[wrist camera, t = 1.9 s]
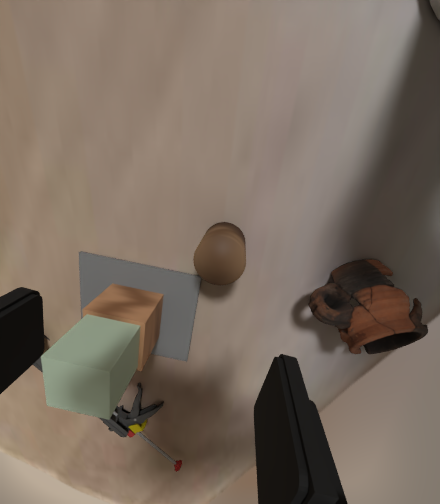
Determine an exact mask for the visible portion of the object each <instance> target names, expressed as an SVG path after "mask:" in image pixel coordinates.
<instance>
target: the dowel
mask: <svg viewBox="0 0 440 504" xmlns="http://www.w3.org/2000/svg"><path fill="white" fill-rule="evenodd" d="M194 266H195V269H196V271H197V273H198V274H199V275H200V277H201V278H203V279H204V280H205V281H207V282H209V283H211V284H215V285H226V284H230V283H232V282H234V281H236V280H237V279H238V278H239V277H240V276H241V275H242V274H243V272H244V269H245V266H246V249H245V237H244V235H243V233H242V231H241V230H240V229H239V228H238V227H237V226H235V225H234V224H231V223H227V222H221V223H217V224H215V225H213V226H211V227H210V228H209V229H208V230H207V232H206V233H205V235H204V237H203V239H202V240H201V242H200V244H199V245H198V247H197V249H196V251H195V253H194Z"/></svg>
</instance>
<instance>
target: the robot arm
mask: <svg viewBox="0 0 440 504" xmlns="http://www.w3.org/2000/svg"><path fill="white" fill-rule="evenodd" d="M430 4H431V6H432V8H433V10H434V12H435V14H436V16H437V18H438V19H439V21H440V0H430ZM43 352H44V325H43V301H42V297H41V296H40V293H39V292H38V291H35V290H31V289H27V288H24V287H20V288H17V289H15V290H13V291H11V292H9V293H7V294H5V295H3V296H1V297H0V394H1V393H2V392H3V391H4V390H5V389H6V388H8V387H9V386H10V385H11V384H12V383H13V382H14V381H15V380H16V379H17V378H18V377H20V376H21V375H22V374H23V373H24V372H25V371H26V370H27V369H28V368H29V367H30V366H31V365H33V364H34V363H35V362H36V361H37V360H38V359H39V358H40V357H41V356H42V354H43ZM254 428H255V447H256V466H257V486H258V504H347V501H346V498H345V495H344V491H343V488H342V485H341V482H340V479H339V476H338V473H337V469H336V466H335V463H334V460H333V457H332V454H331V451H330V448H329V445H328V441H327V438H326V435H325V432H324V429H323V426H322V423H321V420H320V416H319V413H318V410H317V408H316V405H315V404H314V402H313V401H311V400H309V398H308V394H307V391H306V388H305V384H304V381H303V378H302V374H301V371H300V367H299V364H298V361H297V359H296V358H295V357H291V356H287V355H283V354H281V355H280V356H279V357H275V358H274V359H273V362H272V364H271V367H270V369H269V371H268V374H267V376H266V379H265V381H264V383H263V386H262V388H261V391H260V393H259V395H258V398H257V400H256V403H255V406H254Z"/></svg>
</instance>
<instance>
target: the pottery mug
mask: <svg viewBox="0 0 440 504" xmlns="http://www.w3.org/2000/svg"><path fill="white" fill-rule="evenodd" d="M331 274H332V276H333V280H334V283H328V284H326V285H325V286H323V287H320V288H318V289H316V290H315V291H314V292H313V293H312V295H311V297H310V303H309V307H310V309H311V311H312V313H313V315H314V316H315V317H316V318H317V319H318V320H319V321H321V322H323V323H326V324H330V325H335V326H336V327H337V328H338V330H339V332H340V336H341V339H342V340H343V342H346V343H347V344H348V346H349V350H350V352H351V353H354V354H361V349H360V347H361V346H362V345H363V346H364V348H365V350H366V352H367V353H368V354H375V353H381V352H386V351H390V350H394V349H397V348H400V347H403V346H406V345H408V344H411V343H413V342H415V341H417V340H419V339H421V338H423V337H424V336H425V335H426V334H427V333H428V328H427V325H422V323H421V319H422V308H421V303H420V301H419V300H418V299H416V298H415V299H414V300H413V303H414V306H413V309H412V311H411V312H410V309H409V307H410V303H409V297H408V296H407V295H406V294H405V292H404V291H403V290H401V289H398V288H394V284H393V283H392V282H391V281H390V280H388V279H387V278H386V276H384V275H387V276H392V275H393V272H392V271H391V270H390V269H389V268H387V267H386V266H385V265H383V264H382V263H381V262H380V261H377V260H372V259H369V260H368V259H367V260H359V261H353V262H350V263H346V264H344V265H342V266H340V267H339V268H337V269H335V270H334V271H332V272H331ZM351 298H354V299H355V300H356V301H357V302H359V305H356V306H354V307H352V306H351V305H350V304H349V302H350V299H351ZM409 312H410V313H409Z"/></svg>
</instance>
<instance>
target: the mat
mask: <svg viewBox="0 0 440 504" xmlns="http://www.w3.org/2000/svg"><path fill="white" fill-rule="evenodd" d="M79 270H80V295H81V319H82V318H83V312H82V309H83V308H85V307H86V306H87V305H88V304H89V303H90V302H91V301H93V300H94V299H95V298H96V297H97V296H98V295H100V294H101V293H102V292H103V291H104V290H105V289H107V288H108V287H109V286H110V285H111V284H112V283H113V284H117V285H122V286H127V287H132V288H136V289H141V290H146V291H150V292H155V293H160V294H164V297H163V306H162V315H161V324H160V333H159V338H158V340H157V342H156V344H155V346H154V348H153V350H152V352H151V354H155V355H159V356H164V357H168V358H173V359H177V360H182V361H186V362H187V359H188V353H189V348H190V342H191V336H192V330H193V324H194V318H195V312H196V306H197V301H198V295H199V289H200V283H201V277H200V276H197V275H192V274H187V273H182V272H178V271H173V270H168V269H163V268H158V267H154V266H149V265H144V264H139V263H134V262H130V261H125V260H120V259H115V258H110V257H106V256H101V255H96V254H91V253H86V252H82V251H81V252H79Z"/></svg>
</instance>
